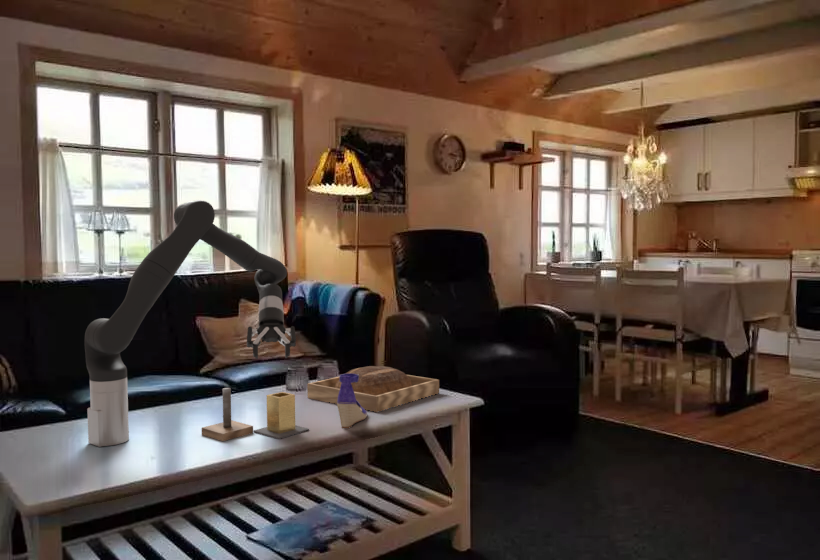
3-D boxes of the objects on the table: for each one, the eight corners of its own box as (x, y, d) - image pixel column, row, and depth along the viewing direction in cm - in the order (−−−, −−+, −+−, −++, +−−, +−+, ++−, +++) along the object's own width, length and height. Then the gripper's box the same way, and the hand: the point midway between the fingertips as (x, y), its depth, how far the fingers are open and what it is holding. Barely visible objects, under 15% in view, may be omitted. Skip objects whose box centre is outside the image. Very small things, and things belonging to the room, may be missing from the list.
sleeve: (279, 433, 186) (278, 398, 185) (267, 429, 190) (266, 395, 189) (295, 429, 190) (294, 394, 189) (283, 425, 194) (282, 391, 193)
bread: (321, 394, 237) (320, 367, 237) (379, 383, 255) (379, 358, 254) (366, 407, 218) (366, 377, 217) (426, 394, 236) (426, 367, 235)
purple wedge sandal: (374, 413, 210) (373, 365, 209) (352, 430, 191) (352, 378, 190) (349, 411, 212) (349, 364, 211) (326, 428, 193) (325, 376, 192)
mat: (278, 439, 182) (278, 437, 182) (253, 432, 189) (253, 430, 189) (309, 430, 191) (309, 428, 191) (283, 424, 198) (283, 422, 198)
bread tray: (376, 412, 211) (376, 396, 210) (307, 397, 231) (307, 383, 231) (439, 393, 236) (439, 379, 236) (372, 382, 256) (372, 369, 256)
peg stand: (223, 441, 181) (222, 394, 180) (201, 434, 187) (200, 389, 186) (253, 433, 188) (252, 388, 188) (231, 427, 195) (230, 383, 194)
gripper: (247, 306, 201) (246, 349, 190) (295, 305, 204) (297, 348, 193) (247, 322, 206) (246, 365, 196) (294, 321, 210) (296, 363, 199)
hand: (271, 356), depth 195 cm, fingers open, 8 cm apart
